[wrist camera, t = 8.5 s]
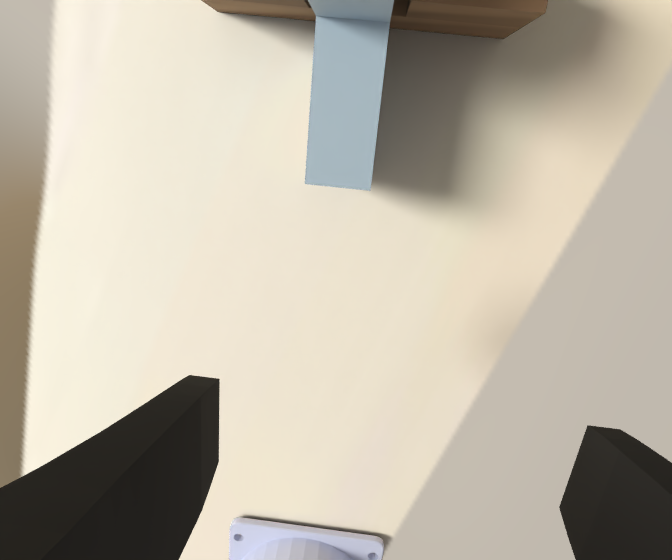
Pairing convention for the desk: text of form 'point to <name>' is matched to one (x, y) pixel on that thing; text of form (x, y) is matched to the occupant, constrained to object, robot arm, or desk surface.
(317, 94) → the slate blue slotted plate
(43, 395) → the desk surface
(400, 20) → the brown notched wooden bar
